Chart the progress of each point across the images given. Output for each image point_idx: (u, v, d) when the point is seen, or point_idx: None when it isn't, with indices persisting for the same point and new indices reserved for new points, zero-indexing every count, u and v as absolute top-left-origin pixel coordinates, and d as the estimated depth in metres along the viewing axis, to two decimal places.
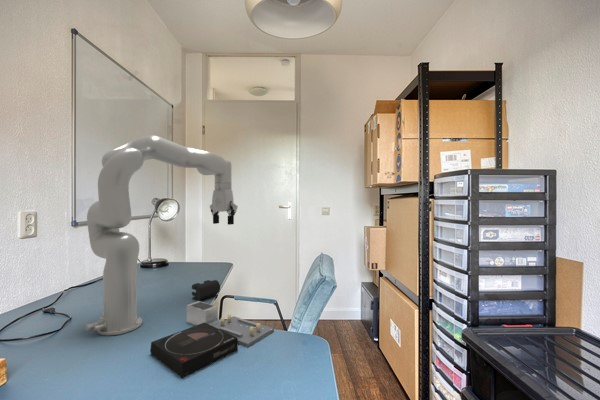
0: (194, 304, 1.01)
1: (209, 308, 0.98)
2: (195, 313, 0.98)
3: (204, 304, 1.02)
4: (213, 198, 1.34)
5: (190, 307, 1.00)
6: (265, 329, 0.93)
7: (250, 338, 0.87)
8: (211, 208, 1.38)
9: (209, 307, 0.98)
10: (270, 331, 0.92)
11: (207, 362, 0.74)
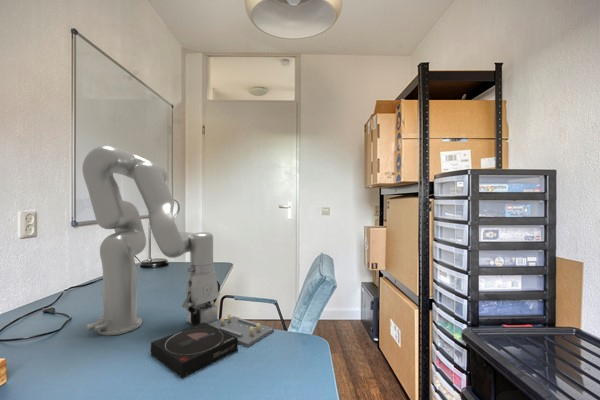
0: None
1: (209, 308, 0.98)
2: None
3: (204, 303, 1.02)
4: (198, 287, 0.96)
5: None
6: (265, 329, 0.93)
7: (250, 338, 0.87)
8: (188, 306, 0.95)
9: (209, 307, 0.98)
10: (270, 331, 0.92)
11: (207, 362, 0.74)
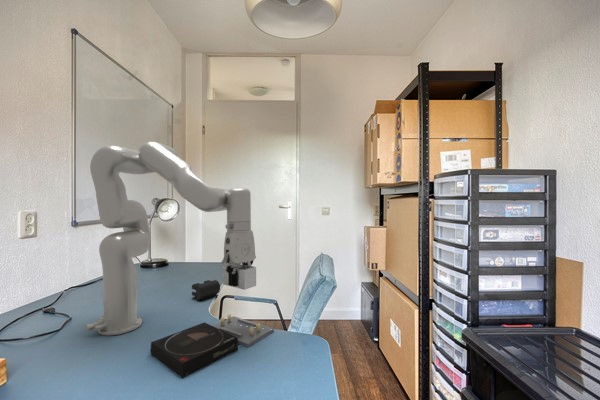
0: None
1: (247, 268, 0.91)
2: None
3: (241, 265, 0.95)
4: (237, 245, 0.89)
5: None
6: (265, 329, 0.93)
7: (250, 338, 0.87)
8: (227, 265, 0.88)
9: (247, 267, 0.91)
10: (270, 331, 0.92)
11: (207, 362, 0.74)
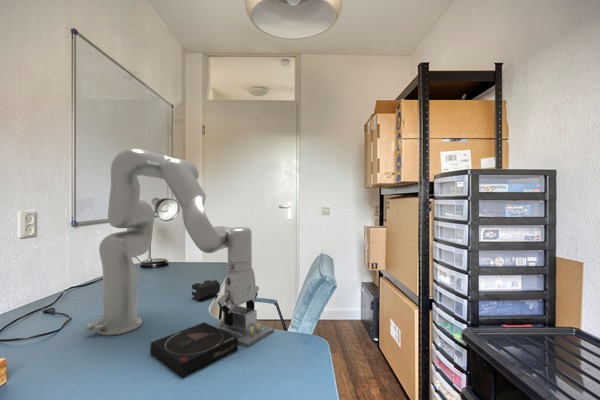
0: None
1: (248, 312, 0.91)
2: (233, 318, 0.91)
3: (241, 308, 0.95)
4: (237, 286, 0.89)
5: None
6: (265, 329, 0.93)
7: (250, 338, 0.87)
8: (223, 304, 0.87)
9: (248, 311, 0.91)
10: (270, 331, 0.92)
11: (207, 362, 0.74)
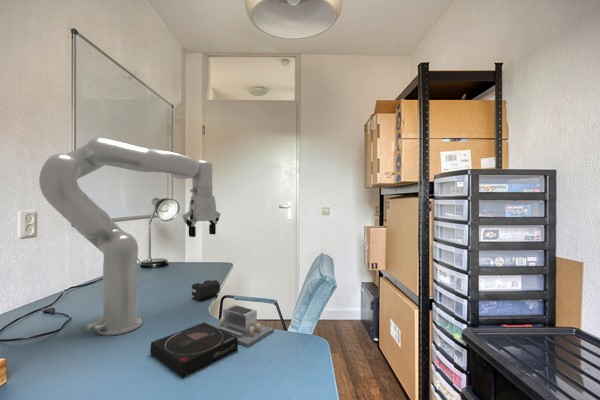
0: (231, 308, 0.94)
1: (248, 312, 0.91)
2: (233, 318, 0.91)
3: (241, 308, 0.95)
4: (199, 205, 1.11)
5: (227, 311, 0.93)
6: (265, 329, 0.93)
7: (250, 338, 0.87)
8: (187, 218, 1.09)
9: (248, 311, 0.91)
10: (270, 331, 0.92)
11: (207, 362, 0.74)
